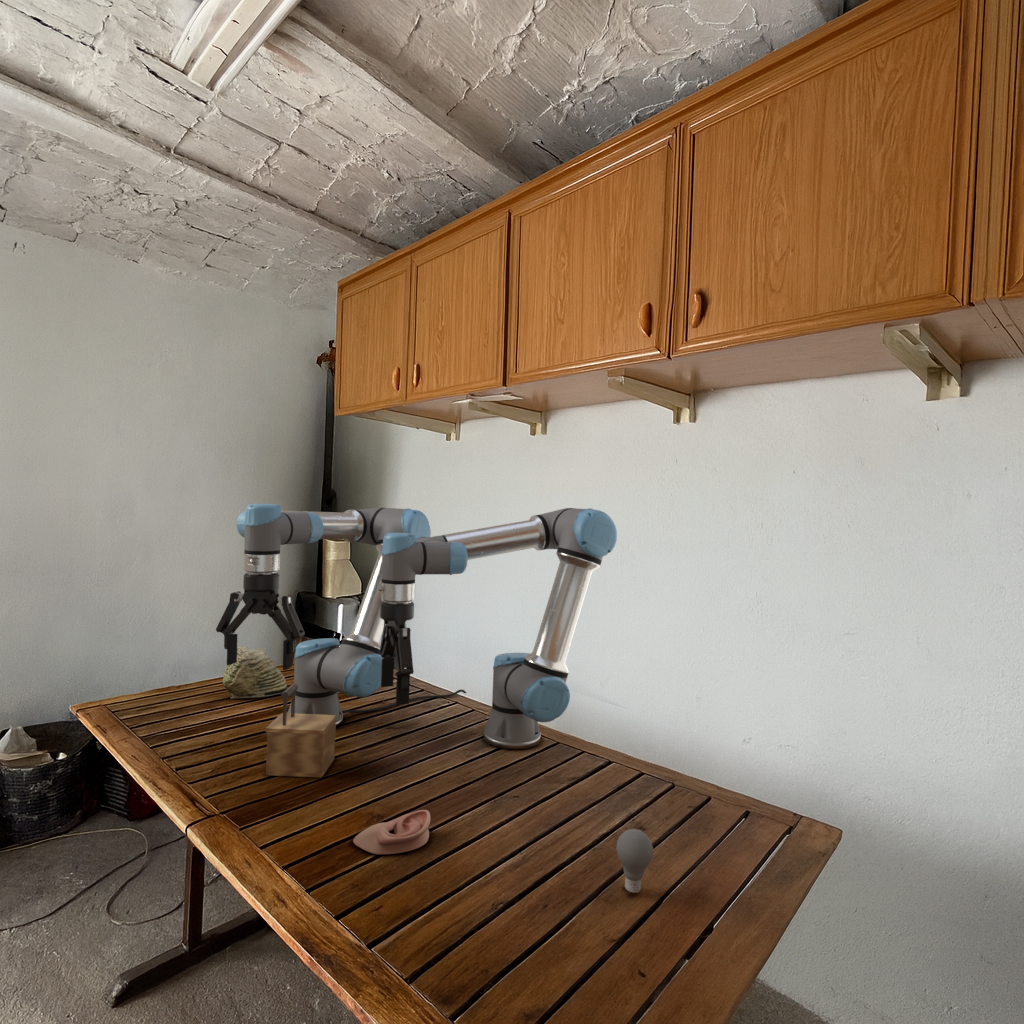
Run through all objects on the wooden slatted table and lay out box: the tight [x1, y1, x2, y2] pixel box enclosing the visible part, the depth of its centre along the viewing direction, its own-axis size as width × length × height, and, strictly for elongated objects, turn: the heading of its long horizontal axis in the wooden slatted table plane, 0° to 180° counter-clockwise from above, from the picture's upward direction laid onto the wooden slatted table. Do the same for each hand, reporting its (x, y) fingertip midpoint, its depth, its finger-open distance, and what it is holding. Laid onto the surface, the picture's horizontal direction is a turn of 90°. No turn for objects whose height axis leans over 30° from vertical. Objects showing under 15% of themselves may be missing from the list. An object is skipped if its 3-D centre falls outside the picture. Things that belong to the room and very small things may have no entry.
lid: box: [265, 683, 336, 734], centre depth 148 cm, size 13×10×9 cm
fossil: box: [222, 646, 288, 699], centre depth 198 cm, size 9×18×15 cm, turn 132°
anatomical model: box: [352, 809, 431, 856], centre depth 118 cm, size 13×4×12 cm
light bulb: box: [615, 828, 654, 894], centre depth 106 cm, size 6×6×10 cm
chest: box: [265, 719, 337, 778], centre depth 148 cm, size 13×10×10 cm
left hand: (259, 666), depth 143 cm, fingers open, 13 cm apart
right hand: (394, 694), depth 143 cm, fingers open, 13 cm apart
